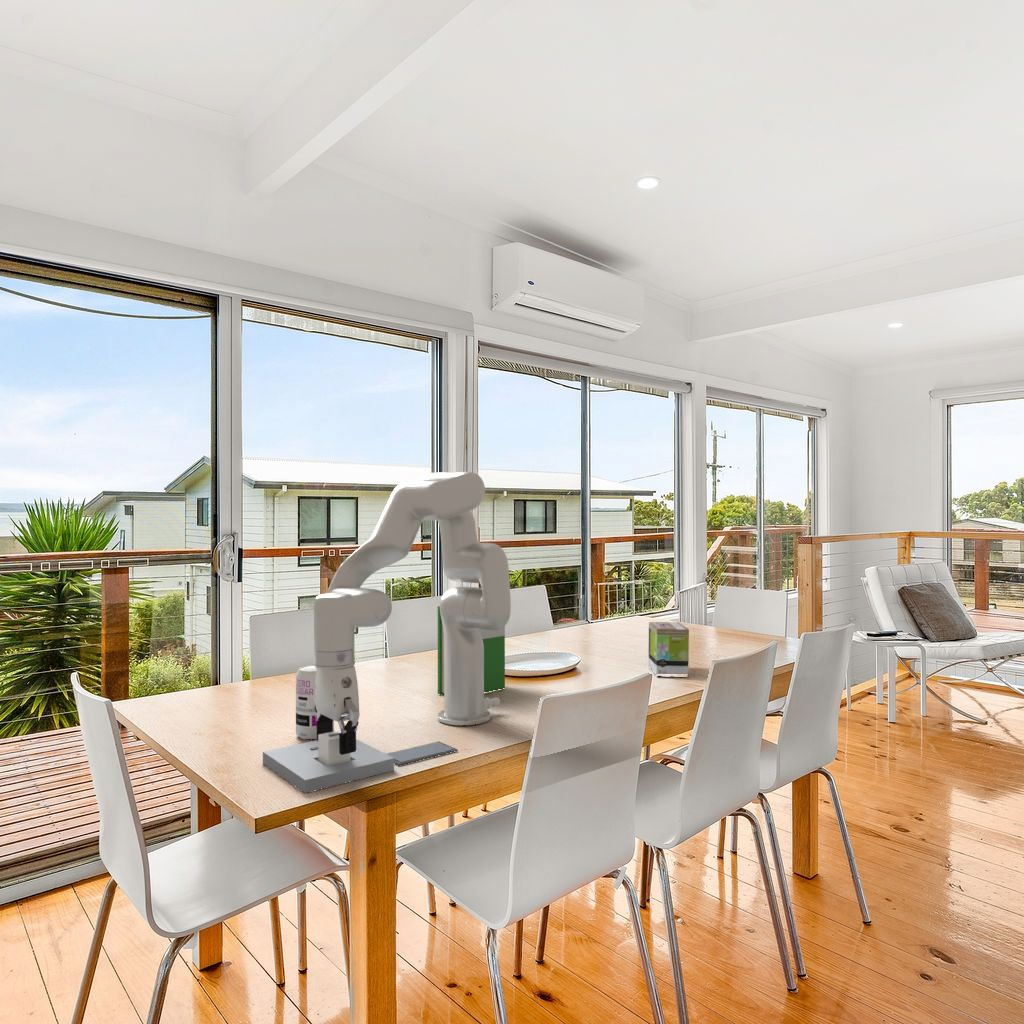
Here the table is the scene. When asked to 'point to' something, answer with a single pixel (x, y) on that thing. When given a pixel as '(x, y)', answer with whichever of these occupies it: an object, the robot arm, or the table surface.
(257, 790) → the table surface
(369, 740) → the table surface
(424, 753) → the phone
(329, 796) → the table surface
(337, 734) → the charger block
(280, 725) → the table surface
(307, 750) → the grey peg hole board
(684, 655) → the tea box
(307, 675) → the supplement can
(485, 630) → the hardback book
